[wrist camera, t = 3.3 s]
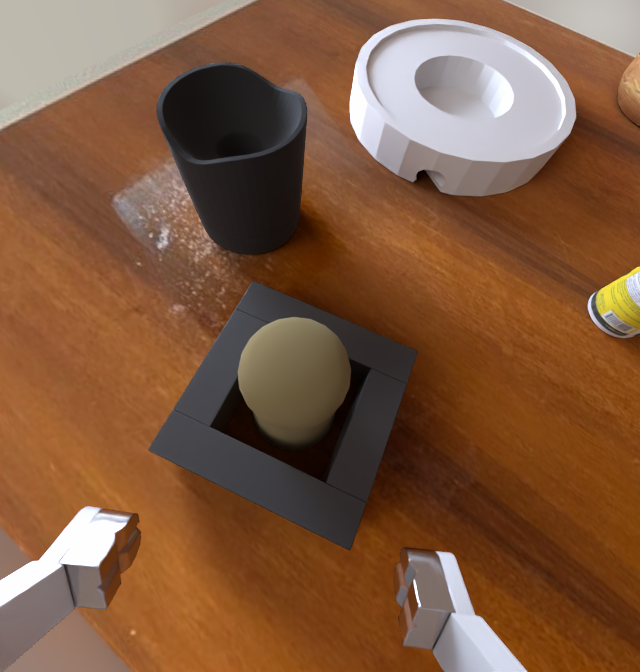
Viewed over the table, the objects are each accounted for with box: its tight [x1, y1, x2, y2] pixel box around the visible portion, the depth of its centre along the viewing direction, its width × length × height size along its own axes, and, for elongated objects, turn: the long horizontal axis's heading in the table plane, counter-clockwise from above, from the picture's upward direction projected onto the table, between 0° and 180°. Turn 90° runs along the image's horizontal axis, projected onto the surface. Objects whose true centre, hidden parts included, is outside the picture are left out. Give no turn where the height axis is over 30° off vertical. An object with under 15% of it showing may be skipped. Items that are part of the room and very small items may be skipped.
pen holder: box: [157, 62, 307, 254], centre depth 25 cm, size 9×9×10 cm
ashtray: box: [350, 19, 576, 196], centre depth 36 cm, size 23×23×4 cm
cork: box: [238, 317, 351, 451], centre depth 19 cm, size 6×6×11 cm
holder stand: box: [148, 281, 418, 550], centre depth 22 cm, size 12×12×4 cm
